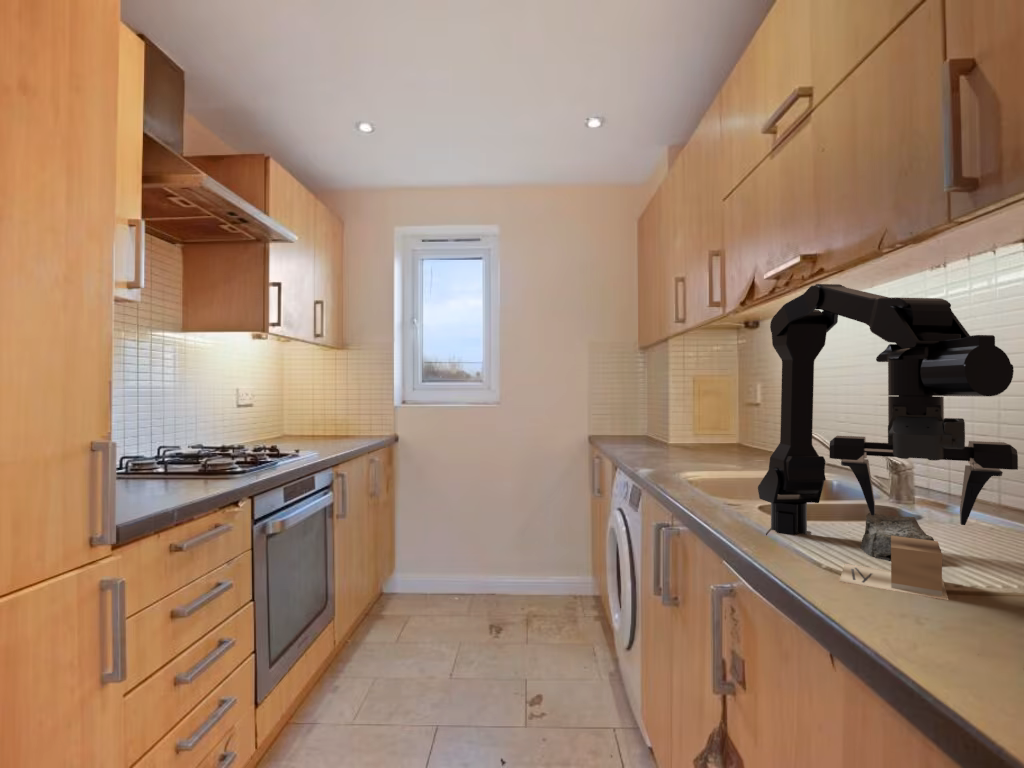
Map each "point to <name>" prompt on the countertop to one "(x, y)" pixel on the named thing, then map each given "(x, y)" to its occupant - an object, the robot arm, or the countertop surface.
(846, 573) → the birch board
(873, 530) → the rock
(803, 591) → the countertop surface
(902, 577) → the block
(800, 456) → the robot arm
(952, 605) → the countertop surface
